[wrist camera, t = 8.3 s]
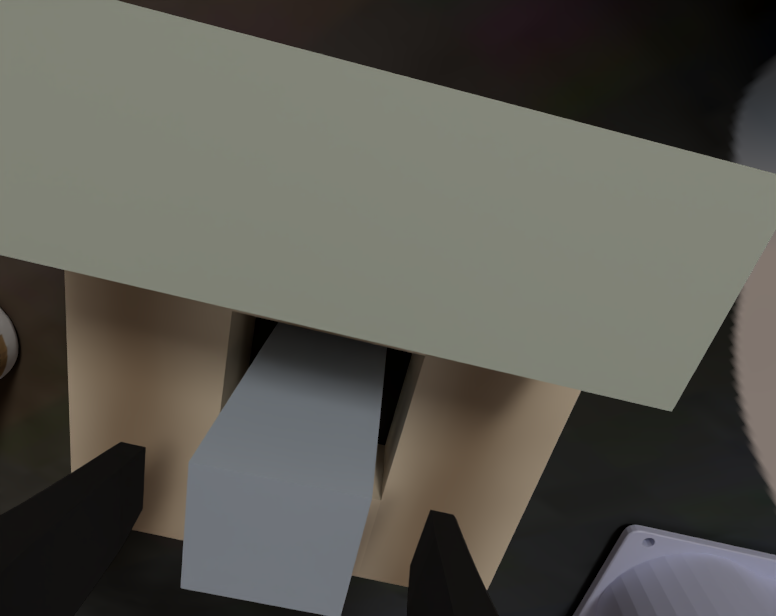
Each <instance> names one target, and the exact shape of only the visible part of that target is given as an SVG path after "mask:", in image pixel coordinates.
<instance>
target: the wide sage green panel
mask: <svg viewBox="0 0 776 616" xmlns="http://www.w3.org/2000/svg"><path fill="white" fill-rule="evenodd" d="M775 230H776V174H774V173H770V172H766V171H762V170H759V169H755V168H751V167H747V166H743V165H740V164H736V163H732V162H728V161H724V160H721V159H717V158H713V157H709V156H705V155H702V154H698V153H694V152H690V151H686V150H683V149H679V148H675V147H671V146H667V145H664V144H660V143H656V142H652V141H648V140H645V139H641V138H637V137H633V136H630V135H626V134H622V133H618V132H614V131H611V130H607V129H603V128H599V127H595V126H592V125H588V124H584V123H580V122H576V121H573V120H569V119H565V118H561V117H557V116H554V115H550V114H546V113H542V112H538V111H535V110H531V109H527V108H523V107H519V106H516V105H512V104H508V103H504V102H500V101H497V100H493V99H489V98H485V97H481V96H478V95H474V94H470V93H466V92H462V91H459V90H455V89H451V88H447V87H443V86H440V85H436V84H432V83H428V82H424V81H421V80H417V79H413V78H409V77H405V76H402V75H398V74H394V73H390V72H386V71H383V70H379V69H375V68H371V67H367V66H364V65H360V64H356V63H352V62H348V61H345V60H341V59H337V58H333V57H329V56H326V55H322V54H318V53H314V52H310V51H307V50H303V49H299V48H295V47H291V46H288V45H284V44H280V43H276V42H273V41H269V40H265V39H261V38H257V37H254V36H250V35H246V34H242V33H238V32H235V31H231V30H227V29H223V28H219V27H216V26H212V25H208V24H204V23H200V22H197V21H193V20H189V19H185V18H181V17H178V16H174V15H170V14H166V13H162V12H159V11H155V10H151V9H147V8H143V7H140V6H136V5H132V4H128V3H124V2H121V1H117V0H0V255H3V256H7V257H12V258H16V259H20V260H24V261H29V262H33V263H37V264H42V265H46V266H50V267H54V268H59V269H63V270H67V271H72V272H76V273H80V274H84V275H89V276H93V277H97V278H102V279H106V280H110V281H114V282H119V283H123V284H127V285H132V286H136V287H140V288H145V289H149V290H153V291H157V292H162V293H166V294H170V295H175V296H179V297H183V298H187V299H192V300H196V301H200V302H205V303H209V304H213V305H217V306H222V307H226V308H230V309H235V310H239V311H243V312H247V313H252V314H256V315H260V316H265V317H269V318H273V319H277V320H282V321H286V322H290V323H295V324H299V325H303V326H307V327H312V328H316V329H320V330H325V331H329V332H333V333H337V334H342V335H346V336H350V337H355V338H359V339H363V340H367V341H372V342H376V343H380V344H385V345H389V346H393V347H397V348H402V349H406V350H410V351H415V352H419V353H423V354H427V355H432V356H436V357H440V358H445V359H449V360H453V361H457V362H462V363H466V364H470V365H475V366H479V367H483V368H487V369H492V370H496V371H500V372H505V373H509V374H513V375H517V376H522V377H526V378H530V379H535V380H539V381H543V382H547V383H552V384H556V385H560V386H565V387H569V388H573V389H577V390H582V391H586V392H590V393H595V394H599V395H603V396H607V397H612V398H616V399H620V400H625V401H629V402H633V403H637V404H642V405H646V406H650V407H655V408H659V409H663V410H667V411H672V410H673V408H674V407H675V405H676V403H677V401H678V400H679V398H680V396H681V394H682V393H683V391H684V389H685V387H686V386H687V384H688V382H689V380H690V379H691V377H692V375H693V373H694V372H695V370H696V368H697V366H698V365H699V363H700V361H701V359H702V358H703V356H704V354H705V352H706V351H707V349H708V347H709V345H710V344H711V342H712V340H713V338H714V337H715V335H716V333H717V331H718V330H719V328H720V326H721V324H722V323H723V321H724V319H725V317H726V316H727V314H728V312H729V310H730V309H731V307H732V305H733V303H734V302H735V300H736V298H737V296H738V295H739V293H740V291H741V289H742V288H743V286H744V284H745V282H746V281H747V279H748V277H749V275H750V274H751V272H752V270H753V268H754V267H755V265H756V263H757V261H758V260H759V258H760V256H761V254H762V252H763V251H764V249H765V247H766V246H767V244H768V242H769V240H770V239H771V237H772V235H773V233H774V232H775Z"/></svg>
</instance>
